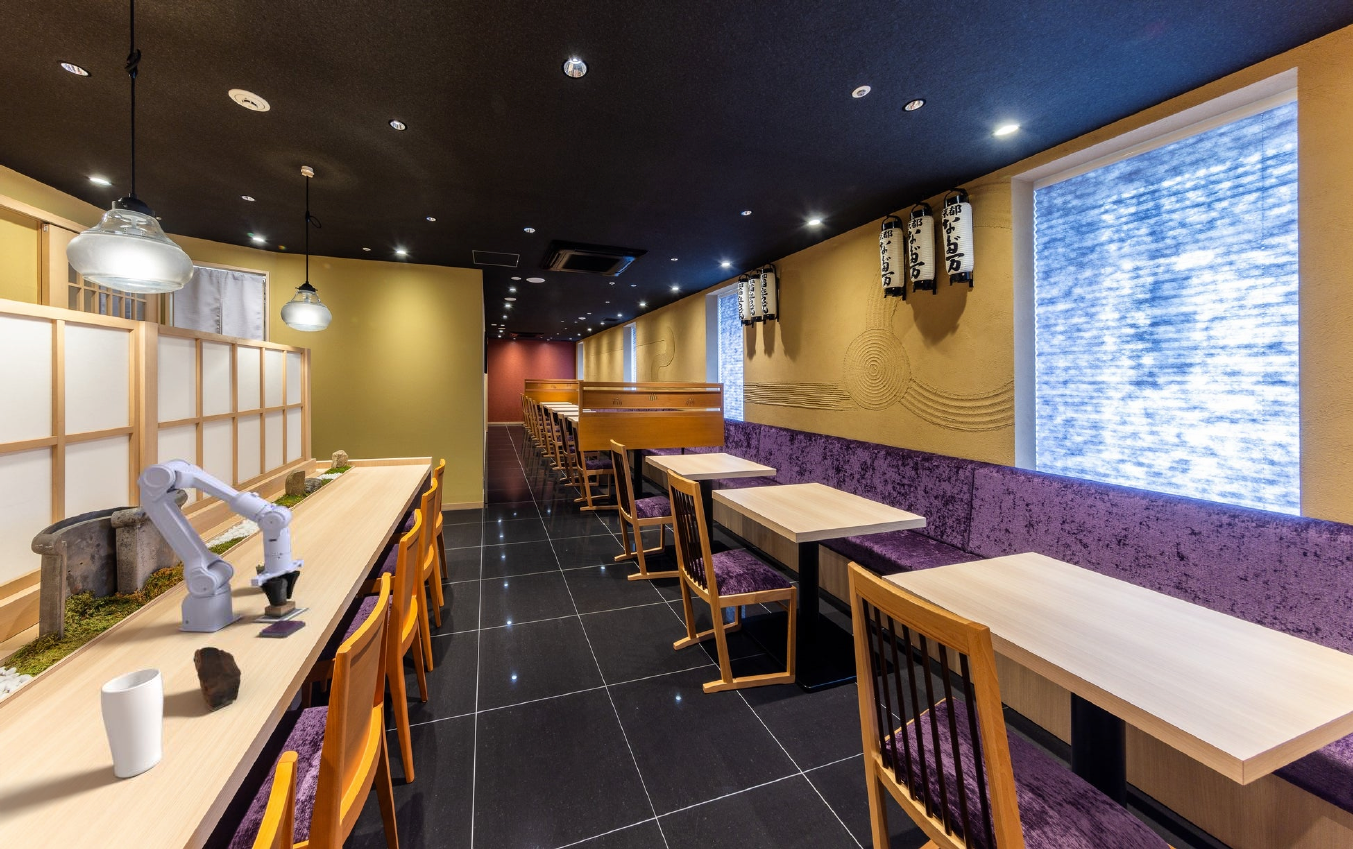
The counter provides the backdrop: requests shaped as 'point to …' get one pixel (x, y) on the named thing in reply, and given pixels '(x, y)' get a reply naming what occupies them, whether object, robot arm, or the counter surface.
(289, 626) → the ink pad
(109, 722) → the white tumbler
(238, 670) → the decorative rock
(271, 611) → the wooden stamp
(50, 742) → the counter surface
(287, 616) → the stamping board
